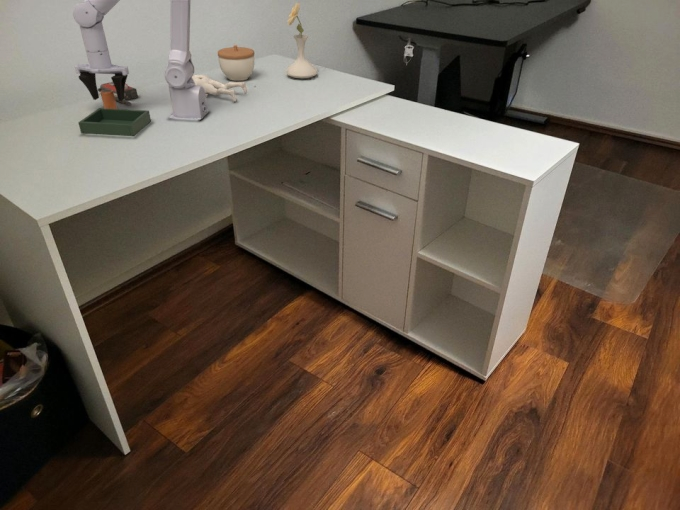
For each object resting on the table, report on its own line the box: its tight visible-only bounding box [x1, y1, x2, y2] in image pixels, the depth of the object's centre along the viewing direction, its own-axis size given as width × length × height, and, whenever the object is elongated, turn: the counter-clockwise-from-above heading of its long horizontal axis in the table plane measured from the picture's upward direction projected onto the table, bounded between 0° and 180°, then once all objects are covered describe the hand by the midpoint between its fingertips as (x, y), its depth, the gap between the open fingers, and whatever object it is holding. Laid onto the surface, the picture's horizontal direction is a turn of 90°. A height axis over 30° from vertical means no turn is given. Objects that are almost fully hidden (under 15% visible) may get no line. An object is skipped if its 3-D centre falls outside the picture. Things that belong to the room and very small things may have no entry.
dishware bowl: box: [217, 44, 255, 82], centre depth 182 cm, size 13×13×11 cm
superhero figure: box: [192, 73, 248, 103], centre depth 169 cm, size 12×6×25 cm
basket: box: [77, 107, 152, 137], centre depth 143 cm, size 15×12×4 cm
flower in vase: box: [285, 2, 318, 79], centre depth 181 cm, size 13×11×25 cm
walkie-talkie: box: [97, 81, 139, 106], centre depth 164 cm, size 9×4×20 cm
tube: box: [100, 89, 118, 109], centre depth 151 cm, size 3×3×7 cm
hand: (108, 99), depth 150 cm, fingers open, 7 cm apart
